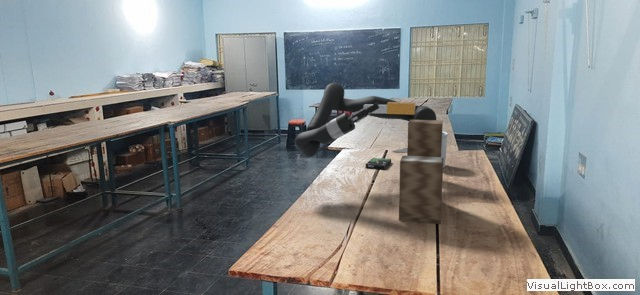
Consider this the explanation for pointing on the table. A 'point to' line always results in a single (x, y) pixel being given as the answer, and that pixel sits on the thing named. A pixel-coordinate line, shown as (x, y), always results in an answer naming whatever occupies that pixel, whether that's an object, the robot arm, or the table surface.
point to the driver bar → (394, 108)
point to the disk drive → (378, 163)
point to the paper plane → (401, 150)
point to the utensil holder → (444, 146)
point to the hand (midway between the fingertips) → (378, 105)
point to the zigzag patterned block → (422, 173)
